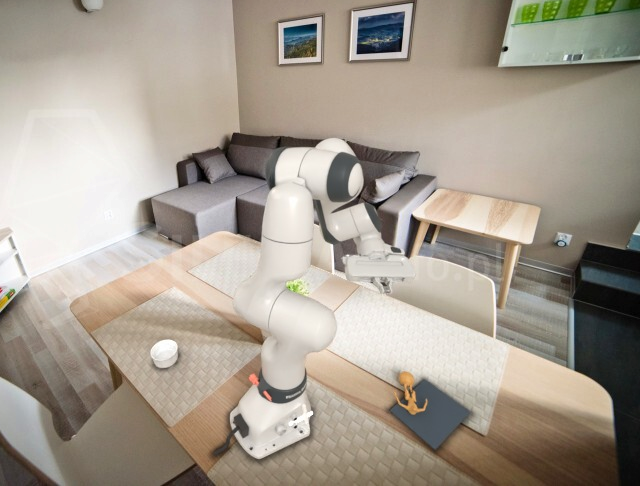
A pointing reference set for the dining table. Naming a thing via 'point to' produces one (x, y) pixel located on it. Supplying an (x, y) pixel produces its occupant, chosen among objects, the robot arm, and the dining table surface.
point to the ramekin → (164, 353)
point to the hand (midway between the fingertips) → (386, 293)
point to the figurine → (408, 381)
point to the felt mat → (431, 414)
